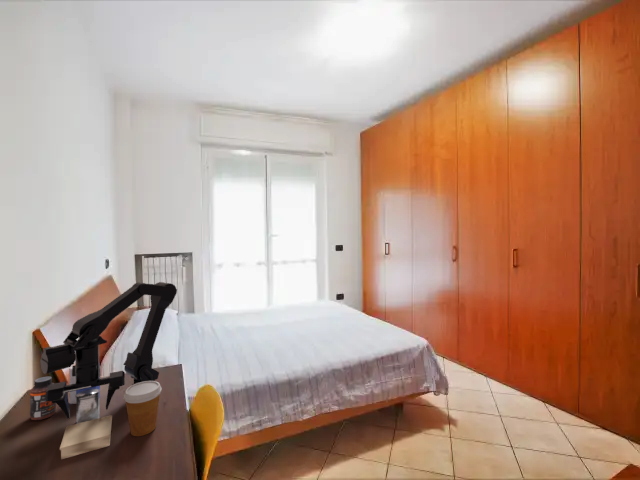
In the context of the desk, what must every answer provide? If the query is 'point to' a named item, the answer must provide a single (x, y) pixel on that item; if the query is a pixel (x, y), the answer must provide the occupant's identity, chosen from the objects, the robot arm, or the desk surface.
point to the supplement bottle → (41, 400)
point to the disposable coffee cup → (142, 406)
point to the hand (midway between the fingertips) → (88, 413)
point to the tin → (87, 405)
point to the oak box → (86, 437)
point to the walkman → (74, 393)
